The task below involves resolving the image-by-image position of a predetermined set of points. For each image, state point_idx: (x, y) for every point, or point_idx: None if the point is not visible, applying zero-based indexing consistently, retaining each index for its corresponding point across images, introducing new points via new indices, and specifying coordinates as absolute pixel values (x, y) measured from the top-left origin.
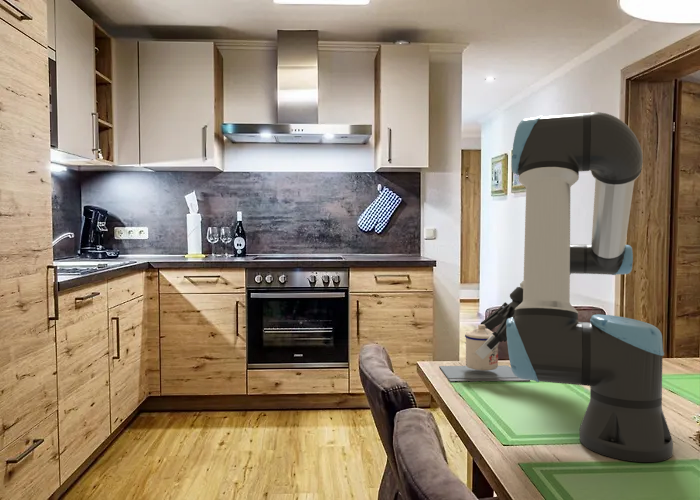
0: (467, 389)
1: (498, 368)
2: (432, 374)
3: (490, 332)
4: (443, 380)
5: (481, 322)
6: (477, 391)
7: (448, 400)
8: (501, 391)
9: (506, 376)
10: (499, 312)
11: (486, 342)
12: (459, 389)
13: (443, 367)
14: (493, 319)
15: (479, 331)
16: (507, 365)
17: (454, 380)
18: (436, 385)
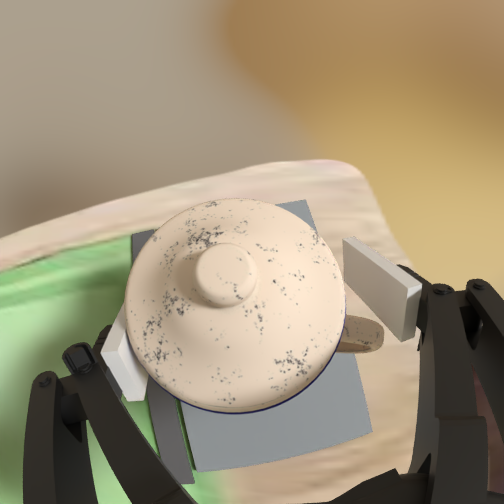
0: (71, 278)
1: (318, 400)
2: (214, 187)
3: (184, 349)
4: (150, 217)
5: (479, 282)
6: (56, 302)
7: (18, 236)
8: (57, 367)
9: (198, 420)
10: (438, 448)
11: (117, 319)
12: (72, 258)
13: (288, 210)
14: (433, 373)
15: (170, 264)
16: (371, 430)
17: (136, 244)
18: (107, 205)
